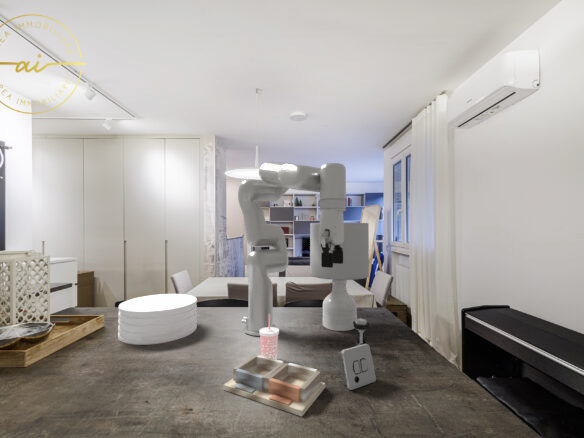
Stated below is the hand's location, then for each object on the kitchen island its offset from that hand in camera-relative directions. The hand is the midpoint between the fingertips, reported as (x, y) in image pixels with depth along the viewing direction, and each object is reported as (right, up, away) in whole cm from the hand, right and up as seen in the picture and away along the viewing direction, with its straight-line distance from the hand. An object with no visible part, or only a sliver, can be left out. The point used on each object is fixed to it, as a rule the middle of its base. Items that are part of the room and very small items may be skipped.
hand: (332, 265), depth 86 cm
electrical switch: (+5, -30, -8) cm, 31 cm away
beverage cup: (-19, -30, +5) cm, 36 cm away
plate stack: (-64, -31, +30) cm, 77 cm away
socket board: (-16, -29, -12) cm, 35 cm away
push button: (+11, -30, +11) cm, 34 cm away
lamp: (+8, -31, +37) cm, 49 cm away
